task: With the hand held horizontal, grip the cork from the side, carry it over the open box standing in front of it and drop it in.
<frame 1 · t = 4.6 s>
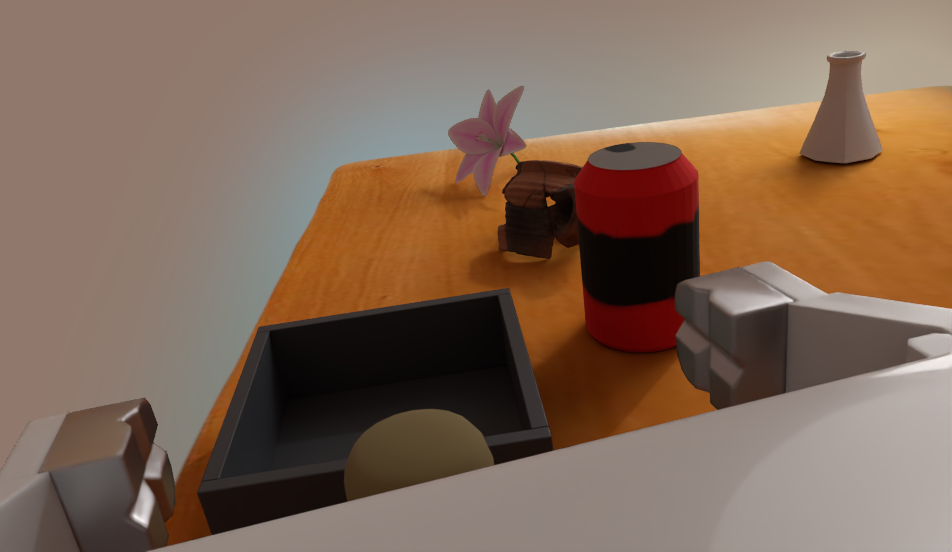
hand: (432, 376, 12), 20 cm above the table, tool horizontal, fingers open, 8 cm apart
broken clay pot: (557, 243, 69), on the table
flask: (840, 156, 80), on the table
open box: (398, 458, 43), on the table
soda can: (642, 328, 53), on the table
lily: (494, 181, 87), on the table
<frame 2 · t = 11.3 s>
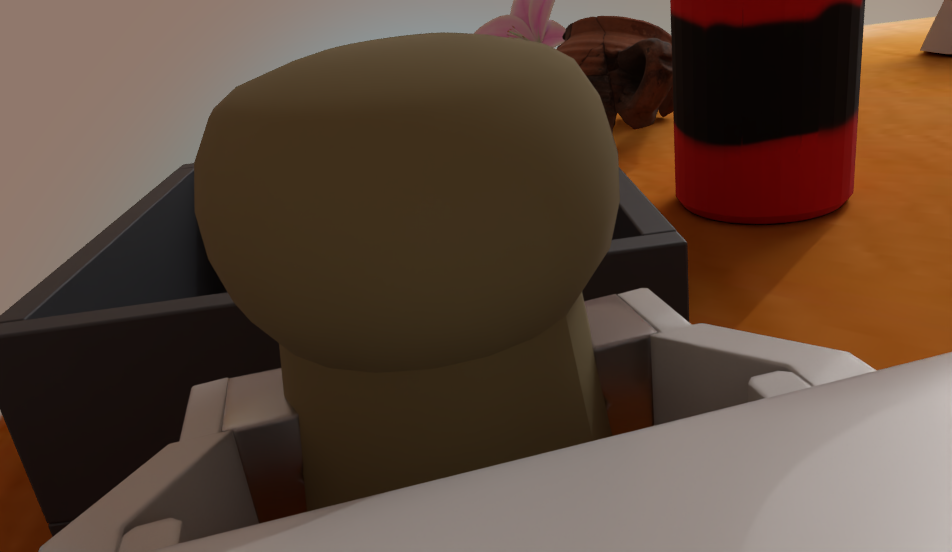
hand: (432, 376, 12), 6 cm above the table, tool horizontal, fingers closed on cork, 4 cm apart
broken clay pot: (617, 134, 52), on the table
open box: (389, 351, 26), on the table
soda can: (761, 202, 36), on the table
lily: (528, 92, 70), on the table
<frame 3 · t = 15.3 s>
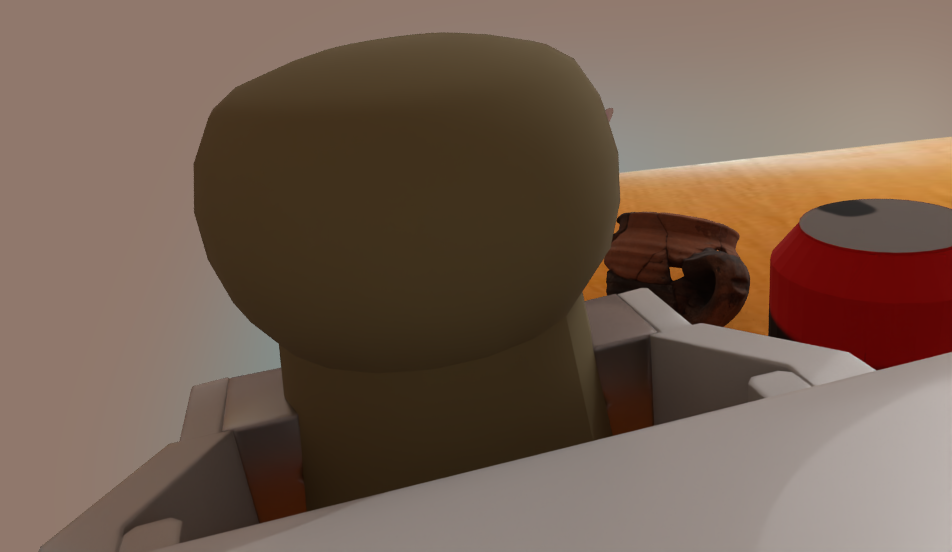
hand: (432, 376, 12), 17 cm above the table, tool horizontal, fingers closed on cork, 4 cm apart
broken clay pot: (676, 329, 48), on the table
soda can: (861, 498, 33), on the table
when the fingers open (7 cm above the table, at t = 19.6 s): cork stays where it is, resting on open box.
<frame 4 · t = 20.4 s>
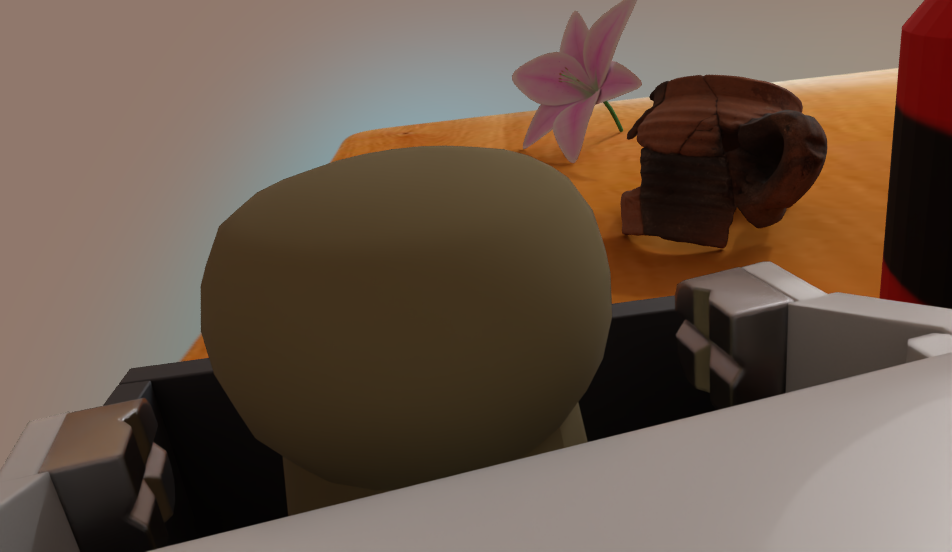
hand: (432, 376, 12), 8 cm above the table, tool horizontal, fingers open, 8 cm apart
broken clay pot: (724, 226, 39), on the table
lily: (581, 146, 58), on the table
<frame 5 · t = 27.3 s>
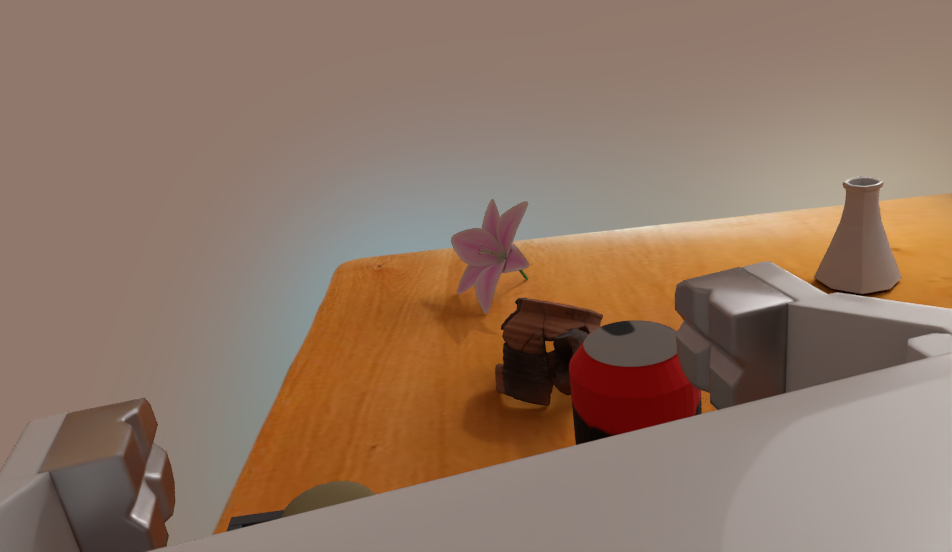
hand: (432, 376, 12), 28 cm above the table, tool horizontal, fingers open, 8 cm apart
broken clay pot: (557, 384, 66), on the table
flask: (856, 282, 76), on the table
soda can: (641, 511, 50), on the table
lily: (496, 293, 85), on the table
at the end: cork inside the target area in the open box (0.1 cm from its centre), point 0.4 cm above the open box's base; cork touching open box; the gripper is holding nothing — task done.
